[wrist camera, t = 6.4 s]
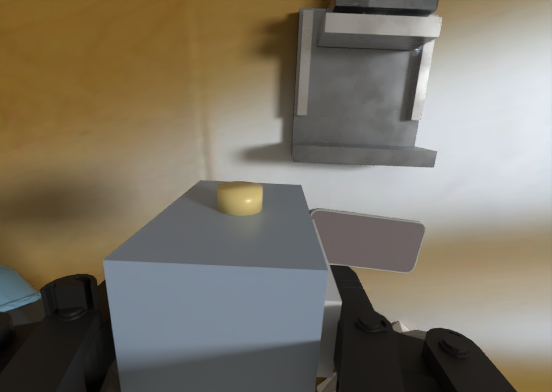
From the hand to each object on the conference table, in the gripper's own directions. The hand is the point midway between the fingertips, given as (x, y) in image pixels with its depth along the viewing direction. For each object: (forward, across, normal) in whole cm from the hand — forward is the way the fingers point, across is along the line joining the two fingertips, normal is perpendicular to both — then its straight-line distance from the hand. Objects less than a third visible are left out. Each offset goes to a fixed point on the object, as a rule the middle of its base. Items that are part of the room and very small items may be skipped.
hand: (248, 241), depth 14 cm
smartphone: (+21, +13, -9) cm, 26 cm away
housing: (0, 0, 0) cm, 0 cm away
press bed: (+21, +10, +10) cm, 25 cm away
